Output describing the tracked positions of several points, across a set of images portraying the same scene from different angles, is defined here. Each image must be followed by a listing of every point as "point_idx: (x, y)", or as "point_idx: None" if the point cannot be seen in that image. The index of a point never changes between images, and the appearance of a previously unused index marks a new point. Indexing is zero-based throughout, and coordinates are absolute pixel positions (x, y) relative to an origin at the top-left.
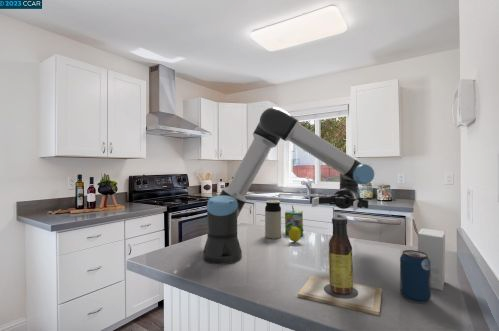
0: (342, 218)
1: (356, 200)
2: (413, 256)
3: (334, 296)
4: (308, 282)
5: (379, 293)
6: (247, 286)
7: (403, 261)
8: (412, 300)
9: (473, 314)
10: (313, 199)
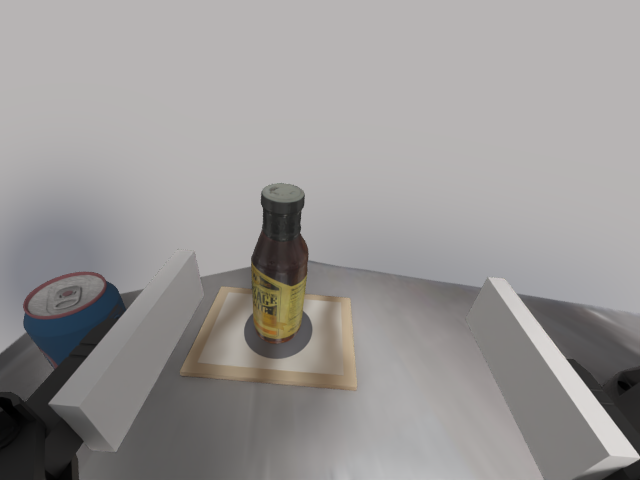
0: (274, 190)
1: (117, 340)
2: (94, 273)
3: None
4: (349, 344)
5: (196, 344)
6: (442, 306)
7: (119, 294)
8: None
9: (28, 339)
10: (490, 281)
